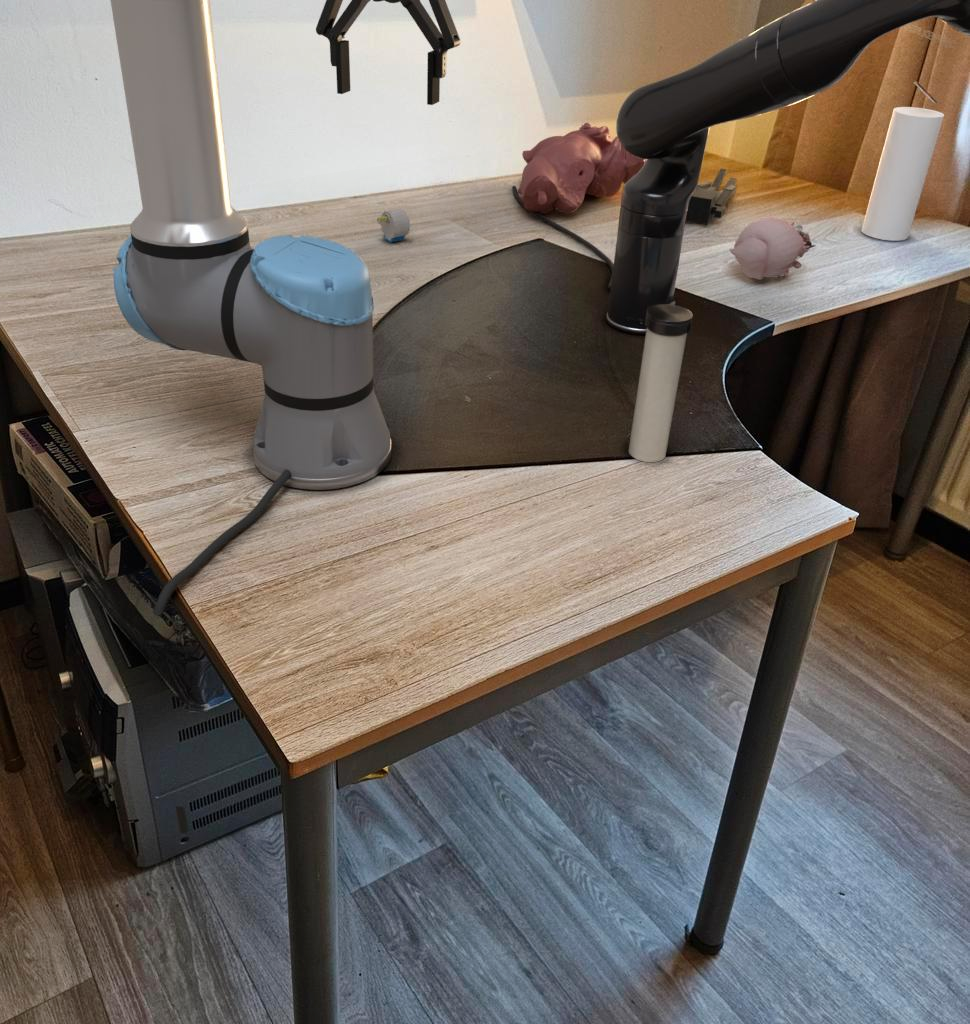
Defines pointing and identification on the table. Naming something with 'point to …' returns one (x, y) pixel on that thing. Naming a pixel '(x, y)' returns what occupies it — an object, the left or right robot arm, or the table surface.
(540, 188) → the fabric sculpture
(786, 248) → the toy
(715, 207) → the toy
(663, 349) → the beige cylinder
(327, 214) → the table surface
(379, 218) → the electric motor
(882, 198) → the tall white tube
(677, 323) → the lid
